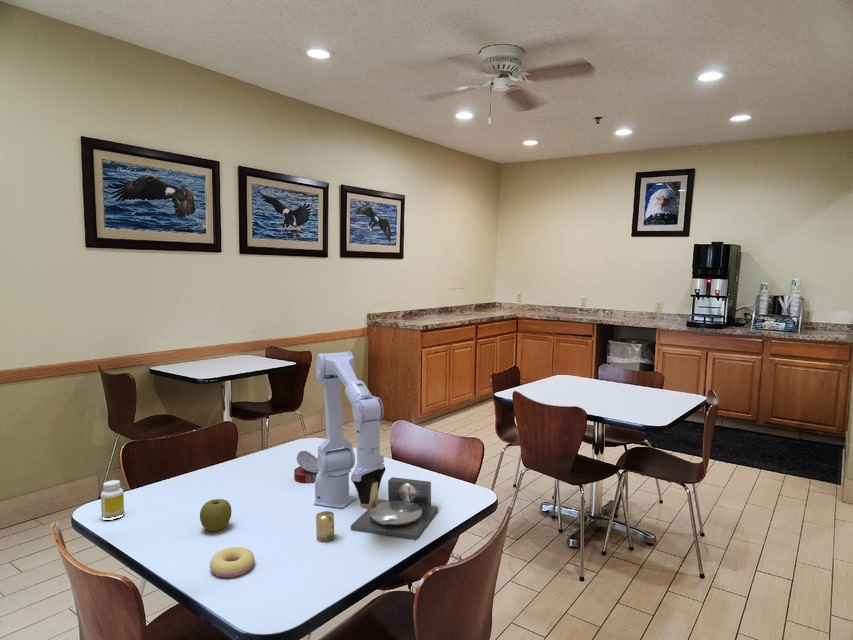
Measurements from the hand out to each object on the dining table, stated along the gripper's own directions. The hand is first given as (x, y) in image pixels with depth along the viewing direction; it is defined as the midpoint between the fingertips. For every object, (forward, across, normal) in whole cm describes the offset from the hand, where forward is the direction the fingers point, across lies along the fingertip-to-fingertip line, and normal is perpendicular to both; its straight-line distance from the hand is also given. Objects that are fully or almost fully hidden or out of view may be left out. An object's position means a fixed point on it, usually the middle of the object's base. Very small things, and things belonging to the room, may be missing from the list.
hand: (369, 499), depth 137 cm
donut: (+10, -24, +23) cm, 34 cm away
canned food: (+10, +31, +36) cm, 49 cm away
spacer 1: (+9, -5, +10) cm, 15 cm away
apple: (+10, -9, +40) cm, 42 cm away
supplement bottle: (+10, -12, +72) cm, 74 cm away
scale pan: (+8, +10, -3) cm, 13 cm away
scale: (+9, +12, -3) cm, 15 cm away
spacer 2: (+2, 0, 0) cm, 2 cm away
